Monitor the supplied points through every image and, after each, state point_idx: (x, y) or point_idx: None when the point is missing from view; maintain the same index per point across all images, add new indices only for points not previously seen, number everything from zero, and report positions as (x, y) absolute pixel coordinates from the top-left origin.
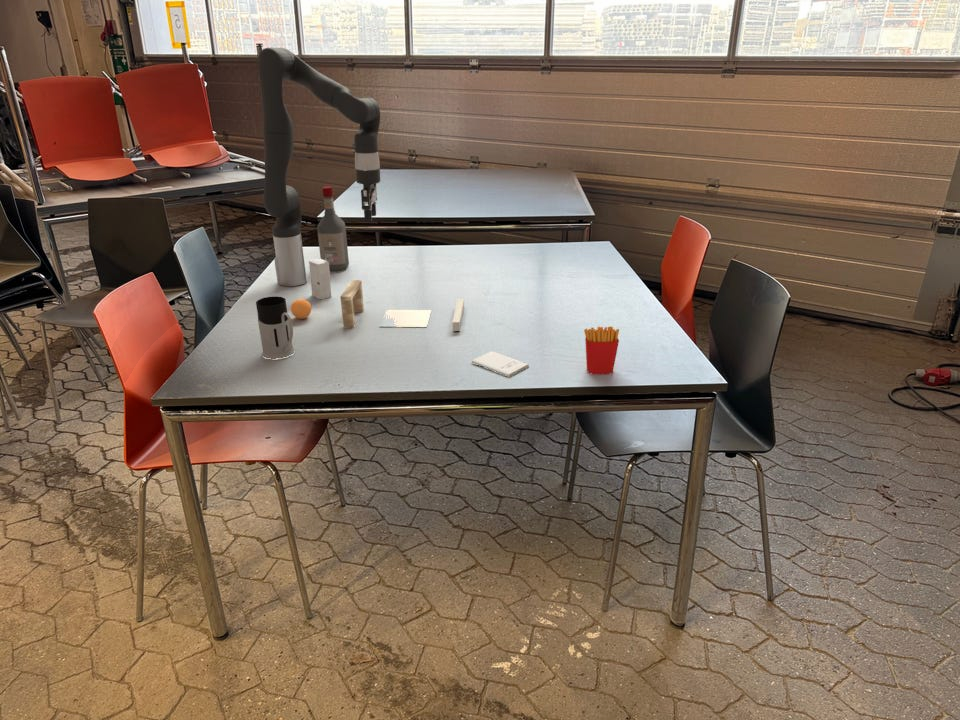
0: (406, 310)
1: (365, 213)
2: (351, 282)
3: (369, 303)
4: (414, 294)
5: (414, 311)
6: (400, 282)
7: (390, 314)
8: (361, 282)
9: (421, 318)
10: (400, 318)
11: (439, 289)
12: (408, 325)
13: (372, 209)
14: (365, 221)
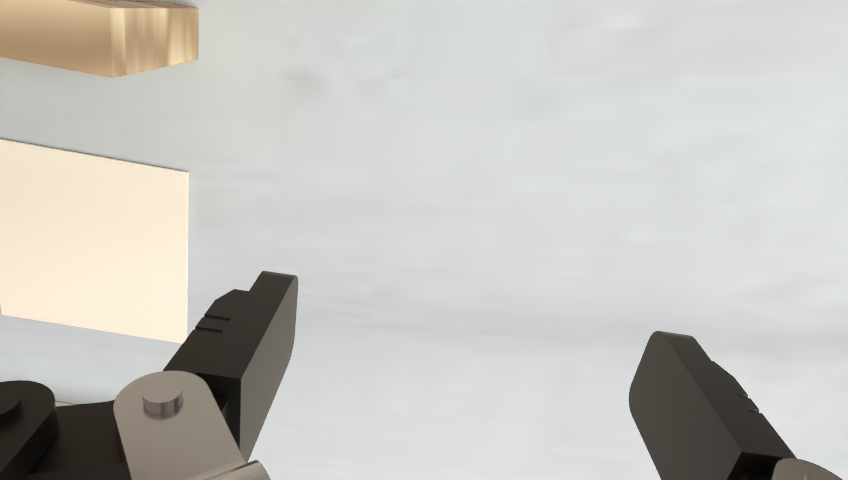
0: (180, 252)
1: (175, 364)
2: (59, 8)
3: (289, 87)
4: (394, 292)
5: (168, 282)
6: (584, 241)
7: (127, 186)
8: (121, 75)
9: (91, 303)
10: (82, 225)
11: (443, 388)
12: (7, 252)
13: (674, 434)
14: (260, 279)
